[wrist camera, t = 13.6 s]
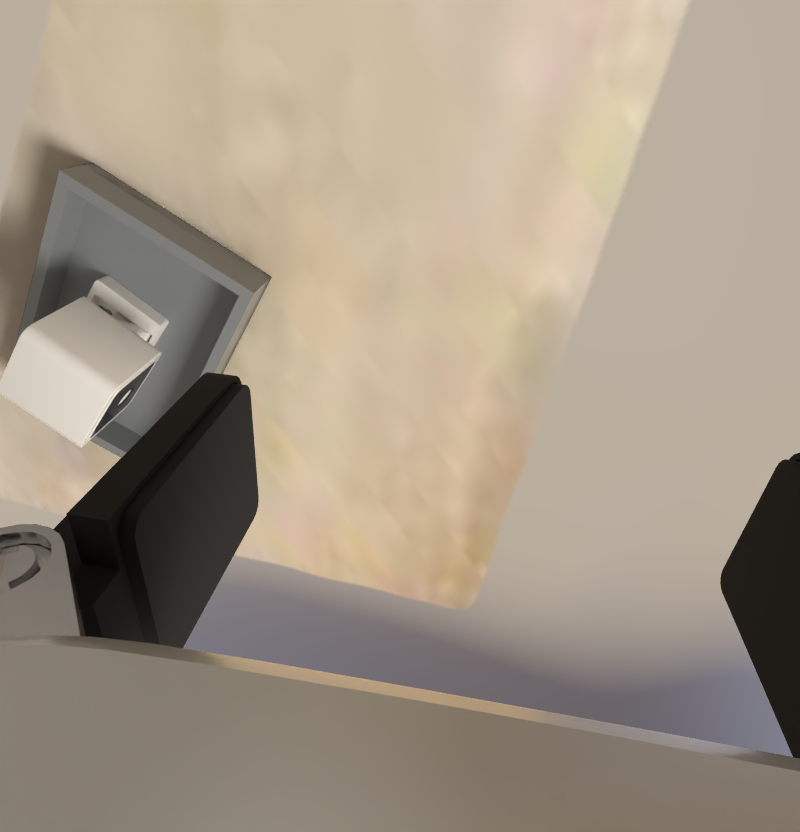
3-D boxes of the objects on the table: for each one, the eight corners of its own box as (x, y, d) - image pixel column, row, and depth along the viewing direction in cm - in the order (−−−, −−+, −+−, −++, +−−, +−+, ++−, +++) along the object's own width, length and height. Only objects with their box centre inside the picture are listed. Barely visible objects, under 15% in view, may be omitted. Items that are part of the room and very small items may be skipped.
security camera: (154, 383, 46) (78, 452, 38) (78, 328, 45) (-20, 388, 36) (189, 329, 43) (114, 392, 35) (108, 269, 42) (9, 319, 33)
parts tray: (92, 162, 39) (59, 170, 36) (271, 277, 41) (254, 293, 38) (34, 373, 49) (4, 393, 46) (180, 456, 51) (161, 479, 48)
